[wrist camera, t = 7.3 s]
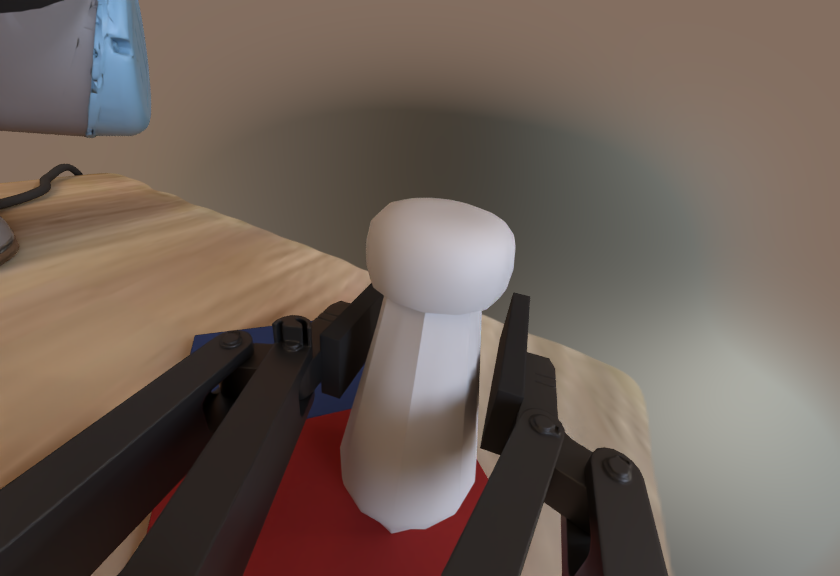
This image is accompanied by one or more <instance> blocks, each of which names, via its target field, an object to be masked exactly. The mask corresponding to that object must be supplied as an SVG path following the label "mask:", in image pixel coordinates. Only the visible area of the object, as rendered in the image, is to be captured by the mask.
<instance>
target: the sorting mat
mask: <svg viewBox="0 0 840 576" xmlns="http://www.w3.org/2000/svg"><path fill="white" fill-rule="evenodd" d="M310 322H312V321H310ZM241 331H246V332H248V333H250V335H251V336H252V339H253V343H264V344H274V336H273V327H272V326H267V327H259V328H251V329H243V330H241ZM226 332H228V331H226ZM221 333H224V332H218V333H210V334H202V335H195V337H194V341H193V345H192V349H191V353H190V354H192V353H193V352H195V351H196V350H197V349H199V348H200V347H202V346H203V345H204V344H206V343H207V342H209V341H210V340H211V339H213V338H214V337H216V336H218V335H219V334H221ZM364 366H365V364H364V365H363V367H362V368H361V370H360V371H359V372H358V374H357V375H356V377H355V378H354V379H353V381H352V382H351V384H350V385H349V386H348V388H347V389H346V391H345V392H344V394H343V395H342V396H341V398H340V399H338V398H336V397H333V396H330V395H327V394H324V393H322V390H321V383H320V384H319V385H318V386H317V387H316V389H315V397H314V401H313V404H312V406H311V409H310V411H309V414H308V416H307V419H306V421H305V424H304V426H303V429H302V431H301V433H300V436H299V438H298V441H297V443H296V446H295V448H294V451H293V453H292V456H291V458H290V461H289V463H288V465H287V468H286V470H285V473H284V475H283V478H282V480H281V483H280V485H279V488H278V490H277V493H276V495H275V497H274V500H273V502H272V505H271V507H270V510H269V512H268V515H267V517H266V520H265V522H264V525H263V527H262V529H261V532H260V534H259V537H258V539H257V542H256V544H255V547H254V549H253V552H252V554H251V557H250V559H249V561H248V564H247V566H246V569H245V571H244V574H243V576H441V574H442V572H443V570H444V568H445V566H446V564H447V562H448V560H449V558H450V556H451V554H452V552H453V550H454V548H455V546H456V544H457V542H458V540H459V538H460V536H461V534H462V532H463V530H464V528H465V526H466V524H467V522H468V520H469V518H470V516H471V514H472V512H473V510H474V508H475V506H476V504H477V502H478V500H479V498H480V496H481V494H482V492H483V490H484V488H485V486H486V484H487V481H488V478H487V476H486V474H485V473H484V471H483V469H482V468H481V466H480V464H479V462H478V461H477V459H476V472H475V482H474V484H473V486H472V487H471V489H470V491H469V492H468V494H467V496H466V497H465V499H464V501H463V502H462V504H461V506H460V507H459V509H458V510H457V512H456V513H455V514H454V515H452V516H450V517H448V518H447V519H445V520H443V521H441V522H439V523H437V524H435V525H433V526H431V527H429V528H427V529H409V530H405V531H401V532H396V533H390V532H389V531H388V530H387V529H386V528H385V527H384V526H383V525H382V524H381V523H380V522H378V521H376V520H375V519H373V518H371V517H369V516H368V515H366V514H364V513H362V512H361V511H360V510H359V508H358V506H357V505H356V503H355V502H354V500H353V498H352V497H351V495H350V494H349V492H348V491H347V489H346V487H345V486H344V484H343V479H342V469H341V454H340V446H341V443H342V439H343V436H344V433H345V429H346V426H347V423H348V419H349V416H350V412H351V409H352V406H353V402H354V399H355V396H356V392H357V389H358V386H359V382H360V379H361V376H362V372H363V369H364ZM218 387H219V384H218V385H217V386H216V387H215V388H214V389H213V390H212V391H211V392H213V391H215V390H216V389H217V388H218ZM186 475H187V474H186ZM186 475H185V476H186ZM185 476H184V477H183V478H182V480H181V481H180V482H179V483H178V484H177V485H176V486H175V487H174V488H173V489H172V490H171V491H170V492H169V493H168V494H167V495H166V496H165V497H164V498H163V500H162V501H161V502H160V503H159V504H158V505H157V506H156V507H155V508H154V509H153V510H152V513H151V517H150V522H149V526H148V530H147V533H148V531H149V530H150V528H151V527H152V525H153V524H154V522H155V521H156V519H157V518H158V516H159V515H160V513H161V512H162V510H163V509H164V507H165V506H166V504H167V503H168V502H169V500H170V499H171V497H172V496H173V494H174V493H175V491H176V490H177V488H178V487H179V485H180V484H181V482H182V481H183V479H184V478H185Z"/></svg>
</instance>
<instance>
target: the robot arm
mask: <svg viewBox="0 0 840 576" xmlns="http://www.w3.org/2000/svg"><path fill="white" fill-rule="evenodd" d="M150 116H151V93H150V79H149V69H148V59H147V52H146V44H145V37H144V31H143V24H142V18H141V13H140V7H139V3H138V0H0V131H12V132H27V133H41V134H55V135H70V136H84V137H87V138H94V137H96V136H133V135H136V134H138V133H141V132H142V131H144V130H145V129H146V128H147V126H148V125H149V122H150ZM67 170H68V171H70V172H72V173H73V174H74V175H75V176H77V175H83V174H82V173H81V172H80V171H79V170H78V169H77V168H76V167H74V166H72V165H70V164H60V165H58V166H56V167H54V168H53V169H52V170H50V171H49V172H48V173H47V174H45V175H43V176H42V177H41V178H40V186H39V187H37V188H35V189H32V190H30V191H27V192H24V193H21V194H18V195H14V196H11V197H7V198H3V199H0V209H3V208H6V207H10V206H14V205H17V204H21V203H24V202H27V201H30V200H33V199H35V198H38V197H40V196H42V195H44V194H46V193H47V192H48V191H49V190H50V189H51V184H50V182H51V181H52V180H53V179H55V178H56V177H57V176H58V175H59V174H60V173H62V172H64V171H67ZM18 250H19V243H18V241H17V239H16V237H15V235H14V233H13V231H12V230H11V228H9V226H8V224H7V223H6V221H5V220H4V219H3V218H2V217H1V216H0V265H2V264H4V263H5V262H7V261H8V260H10V259H11V258H12V257H13V256H14V255H15V254H16V253H17V252H18ZM383 298H384V295H383V294H381V293H380V292H379V291H377V290H376V289H375V288H373V285H372V283H371V284H370V285H369V286H368V287H367V288H366V289H365V290H364V291H363V292H362V293H361V294H360V295H359V296H358V297H357V298H356V299H355V300H354V301H353V302H352V303H351V304H350V303H347V302H343V301H339V302H337V303H334V304H332V305H330V306H329V307H328V308H327V309H326V310H325V311H323V313H321V314H320V315H319V316H318V318H316V319H315V320H313V321H312V322H310V320H308V319H307V318H305V317H302V316H297V315H290V316H285V317H282V318H280V319H277V320H276V321H275V322H274V323H273V324H272V327H273V336H274V344H264V343H253V339H252V336H251V335H250V333H248V332H246V331H241V330H233V331H228V332H224V333H221V334H219V335H218V336H216V337H214V338H213V339H211V340H210V341H209V342H207V343H206V344H204V345H203V346H202V347H200V348H199V349H197V350H196V351H195V352H193V353H192V354H190V355H189V356H188V357H186V358H185V359H183V360H182V361H181V362H179V363H178V364H176V365H175V366H173V367H172V368H171V369H169V370H168V371H166V372H165V373H164V374H162V375H161V376H159V377H158V378H157V379H155V380H154V381H152V382H151V383H150V384H148V385H147V386H145V387H144V388H143V389H141V390H140V391H138V392H137V393H136V394H134V395H133V396H131V397H130V398H128V399H127V400H126V401H124V402H123V403H121V404H120V405H119V406H117V407H116V408H114V409H113V410H112V411H110V412H109V413H107V414H106V415H105V416H103V417H102V418H100V419H99V420H98V421H96V422H95V423H93V424H92V425H91V426H89V427H88V428H86V429H85V430H83V431H82V432H81V433H79V434H78V435H76V436H75V437H74V438H72V439H71V440H69V441H68V442H67V443H65V444H64V445H62V446H61V447H60V448H58V449H57V450H55V451H54V452H53V453H51V454H50V455H48V456H47V457H45V458H44V459H43V460H41V461H40V462H38V463H37V464H36V465H34V466H33V467H31V468H30V469H29V470H27V471H26V472H24V473H23V474H22V475H20V476H19V477H17V478H16V479H15V480H13V481H12V482H10V483H9V484H8V485H6V486H5V487H3V488H2V489H0V576H90V575H91V574H92V573H93V572H94V571H95V570H96V569H97V568H98V567H99V566H100V565H101V564H102V563H103V562H104V561H105V560H106V559H107V557H108V556H109V555H110V554H111V553H112V552H113V551H114V550H115V549H116V548H117V547H118V546H119V545H120V544H121V543H122V542H123V541H124V540H125V539H126V537H127V536H128V535H129V534H130V533H131V532H132V531H133V530H134V529H135V528H136V527H137V526H138V525H139V524H140V523H141V522H142V521H143V520H144V519H145V517H146V516H147V515H148V514H149V513H150V512H151V511H152V510H153V509H154V508H155V507H156V506H157V505H158V504H159V503H160V502H161V501H162V500H163V498H164V497H165V496H166V495H167V494H168V493H169V492H170V491H171V490H172V489H173V488H174V487H175V486H176V485H177V484H178V483H179V482H180V481H181V480H182V478H183V477H184V476H185V475H186V474H187V475H186V476H185V478H184V479H183V481H182V482H181V484H180V485H179V487H178V488H177V490H176V491H175V493H174V494H173V496H172V497H171V499H170V500H169V502H168V503H167V504H166V506H165V507H164V509H163V510H162V512H161V513H160V515H159V516H158V518H157V519H156V521H155V522H154V524H153V525H152V527H151V528H150V530H149V531H148V533H147V534H146V536H145V537H144V539H143V540H142V542H141V543H140V545H139V546H138V548H137V549H136V551H135V552H134V554H133V555H132V557H131V558H130V560H129V561H128V563H127V564H126V566H125V567H124V568H123V570H122V571H121V572H120V573H119V574H118V575H117V576H243V574H244V571H245V569H246V566H247V564H248V561H249V559H250V557H251V554H252V552H253V549H254V547H255V544H256V542H257V539H258V537H259V534H260V532H261V529H262V527H263V525H264V522H265V520H266V517H267V515H268V512H269V510H270V507H271V505H272V502H273V500H274V497H275V495H276V493H277V490H278V488H279V485H280V483H281V480H282V478H283V475H284V473H285V470H286V468H287V465H288V463H289V461H290V458H291V456H292V453H293V451H294V448H295V446H296V443H297V441H298V438H299V436H300V433H301V431H302V429H303V426H304V424H305V421H306V419H307V416H308V414H309V411H310V409H311V406H312V404H313V401H314V397H315V389H316V387H317V386H318V385H319V384H320V383H321V390H322V393H324V394H327V395H330V396H333V397H336V398H338V399H340V398H341V396H342V395H343V394H344V392H345V391H346V389H347V388H348V386H349V385H350V384H351V382H352V381H353V379H354V378H355V377H356V375H357V374H358V372H359V371H360V370H361V368H362V367H363V365H364V364H365V362H366V359H367V355H368V352H369V349H370V345H371V342H372V339H373V335H374V332H375V329H376V325H377V321H378V318H379V314H380V310H381V306H382V302H383ZM529 304H530V296H526V295H521V294H518V293H513V296H512V299H511V303H510V306H509V310H508V313H507V317H506V320H505V323H504V327H503V330H502V334H501V337H500V342H499V347H498V353H497V358H496V364H495V369H494V375H493V380H492V386H491V391H490V397H489V402H488V408H487V413H486V419H485V424H484V430H483V435H482V441H481V446H480V448H481V449H484V450H487V451H490V452H493V453H496V454H499V455H500V457H499V459H498V461H497V463H496V465H495V467H494V469H493V471H492V473H491V475H490V477H489V479H488V481H487V484H486V486H485V488H484V490H483V492H482V494H481V496H480V498H479V500H478V502H477V504H476V506H475V508H474V510H473V512H472V514H471V516H470V518H469V520H468V522H467V524H466V526H465V528H464V530H463V532H462V534H461V536H460V538H459V540H458V542H457V544H456V546H455V548H454V550H453V552H452V554H451V556H450V558H449V560H448V562H447V564H446V566H445V568H444V570H443V572H442V574H441V576H520V575H521V572H522V569H523V566H524V563H525V559H526V556H527V553H528V550H529V547H530V544H531V541H532V537H533V534H534V531H535V528H536V525H537V522H538V519H539V515H540V512H541V509H542V506H543V503H544V502H545V503H546V504H547V505H549V506H550V507H552V508H553V509H554V510H556V511H557V512H559V513H560V514H561V543H562V576H668V573H667V569H666V565H665V561H664V557H663V554H662V550H661V546H660V542H659V538H658V534H657V530H656V526H655V522H654V518H653V514H652V510H651V506H650V502H649V498H648V494H647V490H646V486H645V482H644V478H643V476H642V474H641V472H640V470H639V468H638V467H637V466H636V465H635V464H634V462H633V461H632V460H630V459H629V458H628V457H626V456H625V455H624V454H622V453H620V452H618V451H616V450H614V449H610V448H605V447H604V448H598V449H596V450H595V451H594V452H591V451H590V450H588V449H586V448H585V447H583V446H581V445H580V444H578V443H577V442H575V441H574V440H572V439H571V438H570V437H569V436H568V435H567V434H566V433H565V430H564V428H563V426H562V423H561V422H560V421H559V420H558V412H557V394H556V380H555V379H556V377H555V368H554V366H553V364H552V363H551V361H550V359H549V358H546V357H542V356H539V355H535V354H531V353H528V352H527V339H528V322H529ZM218 384H219V387H218V388H217V389H216V390H215V391H213V392H211V391H212V390H213V389H214V388H215V387H216V386H217V385H218Z"/></svg>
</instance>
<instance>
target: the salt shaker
mask: <svg viewBox="0 0 840 576" xmlns="http://www.w3.org/2000/svg"><path fill="white" fill-rule="evenodd" d="M514 255H515V240H514V234H513V233H512V232H511V230H510V229H509V227H508V226H507V224H506V223H505V222H504V221H503V220H501V219H500V218H499V217H497V216H496V215H494V214H493V213H490V212H488V211H485V210H483V209H480V208H478V207H475V206H472V205H469V204H466V203H462V202H458V201H453V200H448V199H438V198H412V199H405V200H401V201H396V202H391V203H390V204H388V205H387V206H386V207H385V208H384V209H383V210H382V211H380V213H378V214H377V215H376V216H375V217H374V218H373V219H372V220H371V223H370V227H369V231H368V236H367V240H366V263H367V267H368V271H369V275H370V279H371V282H372V285H373V288H375V289H376V290H377V291H379V292H380V293H381V294H383V295H384V298H383V302H382V306H381V310H380V314H379V318H378V321H377V325H376V329H375V332H374V335H373V339H372V342H371V345H370V349H369V352H368V355H367V359H366V362H365V366H364V369H363V372H362V376H361V379H360V382H359V386H358V389H357V392H356V396H355V399H354V402H353V406H352V409H351V412H350V416H349V419H348V423H347V426H346V429H345V433H344V436H343V439H342V443H341V446H340V454H341V469H342V479H343V484H344V486H345V487H346V489H347V491H348V492H349V494H350V495H351V497H352V498H353V500H354V502H355V503H356V505H357V506H358V508H359V510H360V511H361V512H362V513H364V514H366V515H368V516H369V517H371V518H373V519H375V520H376V521H378V522H380V523H381V524H382V525H383V526H384V527H385V528H386V529H387V530H388V531H389V532H390V533H396V532H401V531H405V530H409V529H427V528H429V527H431V526H433V525H435V524H437V523H439V522H441V521H443V520H445V519H447V518H448V517H450V516H452V515H454V514H455V513H456V512H457V510H458V509H459V507H460V506H461V504H462V502H463V501H464V499H465V497H466V496H467V494H468V492H469V491H470V489H471V487H472V486H473V484H474V482H475V472H476V458H477V434H478V404H479V374H480V344H481V314H482V310H486V309H487V308H488V307H490V306H491V305H492V304H493V303H494V302H495V301H496V300H498V299H499V298H500V296H501V295H502V294H503V293H504V291H505V290H506V288H507V285H508V283H509V280H510V277H511V274H512V271H513V267H514Z"/></svg>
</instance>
